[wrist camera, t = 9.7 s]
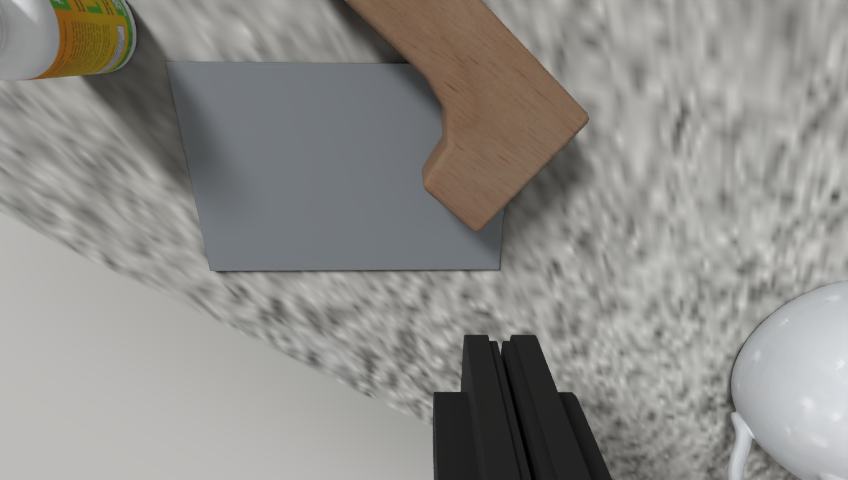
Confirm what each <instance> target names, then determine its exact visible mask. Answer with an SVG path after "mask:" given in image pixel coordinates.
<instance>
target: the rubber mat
mask: <svg viewBox="0 0 848 480" xmlns="http://www.w3.org/2000/svg"><path fill="white" fill-rule="evenodd" d="M166 66H167V71H168V76H169V80H170V85H171V90H172V94H173V99H174V104H175V109H176V113H177V118H178V123H179V127H180V132H181V137H182V141H183V146H184V151H185V155H186V160H187V165H188V169H189V174H190V179H191V183H192V188H193V193H194V197H195V202H196V207H197V211H198V216H199V221H200V225H201V230H202V235H203V239H204V244H205V249H206V253H207V258H208V263H209V268H210V271H266V270H435V269H499V264H500V252H501V241H502V229H503V218H504V208H503V209H502V210H501V211H500V212H499V213H498V214H497V215H496V216H495V217H494V218H493V219H492V220H491V221H490V222H489V223H488V224H487V225H486V226H485V227H484V228H483V229H482V230H481V231H479V232H475V231H472V230H471V229H470V228H469V227H468V226H466V225H465V224H464V223H463V222H462V221H461V220H459V219H458V218H457V217H456V216H455V215H454V214H452V213H451V212H450V211H449V210H448V209H447V208H446V207H444V206H443V205H442V204H441V203H440V202H439V201H437V200H436V199H435V198H434V197H433V196H432V195H430V194H429V193H428V192H427V191H426V190H425V188H424V186H423V179H422V168H423V165H424V164H425V162H426V161H427V159H428V157H429V156H430V154H431V152H432V151H433V149H434V148H435V146H436V144H437V143H438V141H439V140H440V138H441V136H442V119H441V104H440V102H439V100H438V99H437V97H436V96H435V94H434V92H433V91H432V89H431V87H430V86H429V84H428V82H427V81H426V79H425V78H424V77H423V76H422V75H421V74H420V73H419V72H418V71H417V70H416V69H415V68H414V67H413V66H412V65H411V64H405V63H282V62H166Z"/></svg>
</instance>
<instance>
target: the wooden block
mask: <svg viewBox="0 0 848 480" xmlns="http://www.w3.org/2000/svg"><path fill="white" fill-rule="evenodd" d="M344 1H345V2H346V3H347V4H348V5H349V6H350V7H351V8H352V9H353V10H354V11H355V12H357V13H358V14H359V15H360V16H361V17H362V18H363V19H364V20H365V21H366V22H367V23H368V24H369V25H370V26H371V27H372V28H373V29H374V30H375V31H376V32H377V33H378V34H380V35H381V36H382V37H383V38H384V39H385V40H386V41H387V42H388V43H389V44H390V45H391V46H392V47H393V48H394V49H395V50H396V51H397V52H398V53H399V54H400V55H401V56H403V57H404V58H405V59H406V60H407V61H408V62H409V63H410V64H411V65H412V66H413V67H414V68H415V69H416V70H417V71H418V72H419V73H420V74H421V75H422V76H423V77H424V78H425V79H426V81H427V82H428V84H429V86H430V87H431V89H432V91H433V92H434V94H435V96H436V97H437V99H438V100H439V102H440V104H441V119H442V136H441V138H440V140H439V141H438V143H437V144H436V146H435V148H434V149H433V151H432V152H431V154H430V156H429V157H428V159H427V161H426V162H425V164H424V165H423V168H422V179H423V186H424V188H425V190H426V191H427V192H428V193H429V194H430V195H432V196H433V197H434V198H435V199H436V200H437V201H439V202H440V203H441V204H442V205H443V206H444V207H446V208H447V209H448V210H449V211H450V212H451V213H452V214H454V215H455V216H456V217H457V218H458V219H459V220H461V221H462V222H463V223H464V224H465V225H466V226H468V227H469V228H470V229H471V230H472V231H475V232H479V231H481V230H482V229H483V228H484V227H485V226H486V225H487V224H488V223H489V222H490V221H491V220H492V219H493V218H494V217H495V216H496V215H497V214H498V213H499V212H500V211H501V210H502V209H503V208H504V207H505V206H506V205H507V204H508V203H509V202H510V201H511V200H512V199H513V198H514V197H515V196H516V195H517V194H518V193H519V192H520V191H521V190H522V189H523V188H524V187H525V186H526V185H527V184H528V183H529V181H530V180H531V179H532V178H533V177H534V176H535V175H536V174H537V173H538V172H539V171H540V170H541V169H542V168H543V167H544V166H545V165H546V164H547V163H548V162H549V161H550V160H551V159H552V158H553V157H554V156H555V155H556V154H557V153H558V152H559V151H560V150H561V149H562V148H563V147H564V146H565V145H566V144H567V143H568V142H569V141H570V140H571V139H572V138H573V137H574V136H575V135H576V134H577V133H578V132H579V131H580V130H581V129H582V128H583V127H584V126H585V125H586V124H587V122H588V120H589V117H588V114H587V112H586V111H585V110H584V109H583V108H582V107H581V106H580V105H579V104H578V103H577V102H576V101H575V100H574V99H573V98H572V97H571V95H570V94H569V93H568V92H567V91H566V90H565V89H564V88H563V87H562V86H561V85H560V84H559V83H558V82H557V81H556V80H555V78H554V77H553V76H552V75H551V74H550V73H549V72H548V71H547V70H546V69H545V68H544V67H543V66H542V65H541V64H540V63H539V61H538V60H537V59H536V58H535V57H534V56H533V55H532V54H531V53H530V52H529V51H528V50H527V49H526V48H525V46H524V45H523V44H522V43H521V42H520V41H519V40H518V39H517V38H516V37H515V36H514V35H513V34H512V33H511V31H510V30H509V29H508V28H507V27H506V26H505V25H504V24H503V23H502V22H501V21H500V20H499V19H498V18H497V16H496V15H495V14H494V13H493V12H492V11H491V10H490V9H489V8H488V7H487V6H486V5H485V4H484V3H483V1H482V0H344Z"/></svg>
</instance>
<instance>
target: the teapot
mask: <svg viewBox="0 0 848 480" xmlns="http://www.w3.org/2000/svg"><path fill="white" fill-rule="evenodd" d="M731 392H732V397H733V402H734V406H735V408H736V412H732V413H731V420H732V423H733V425H734V428H735V437H736V438H735V443H734V446H733V449H732V453H731V456H730V459H729V463H728V468H727V480H742V476H743V470H744V467H745V463H746V461H747V458H748V455H749V452H750V448H751V444H752V439H754V440H755V441H756V442H757V443H758V444H759V445H760V446H761V447H762V449H763V450H764V451H766V452H767V453H768V454H769V455H770V456H771V457H772V458H773V459H774V460H775V461H776V462H778V463H779V464H780V465H781V466H783V467H784V468H785V469H786V470H788V471H789V472H790V473H792V474H793V475H795V476H796V477H798V478H799V479H801V480H848V280H846V281H840V282H836V283H832V284H829V285H826V286H823V287H820V288H817V289H814V290H812V291H810V292H807V293H805V294H803V295H801V296H799V297H797V298H795V299H793V300H792V301H790V302H788V303H787V304H785V305H784V306H782V307H781V308H779V309H778V310H777V311H775V312H774V313H773V314H771V315H770V316H769V317H768V318H767V319H766V320H765V321H764V322H762V323H761V324H760V325H759V326H758V327H757V329H756V330H755V331H754V332H753V333H752V334H751V336H750V337H749V338H748V340H747V341H746V343H745V344H744V346H743V347H742V349H741V351H740V353H739V355H738V357H737V360H736V362H735V365H734V368H733V372H732V377H731Z"/></svg>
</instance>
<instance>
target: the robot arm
mask: <svg viewBox="0 0 848 480" xmlns="http://www.w3.org/2000/svg"><path fill="white" fill-rule="evenodd" d="M433 462H434V480H612V478H611V476H610V473H609V471H608V469H607V466H606V464H605V462H604V459H603V457H602V455H601V452H600V450H599V448H598V446H597V443H596V441H595V439H594V436H593V434H592V432H591V429H590V427H589V425H588V422H587V420H586V418H585V415H584V413H583V411H582V408H581V406H580V404H579V401H578V399H577V398H576V396H575V395H574V394H573V393H572V392H558V391H557V389H556V386H555V383H554V381H553V378H552V376H551V373H550V370H549V368H548V365H547V363H546V360H545V357H544V355H543V352H542V350H541V347H540V344H539V342H538V339H537V337H536V336H535V335H511V337H510V341H503V343H502V349H501V355H500V351H499V347H498V343H497V341H489V337H488V335H464V344H463V361H462V378H461V392H434V398H433Z"/></svg>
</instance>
